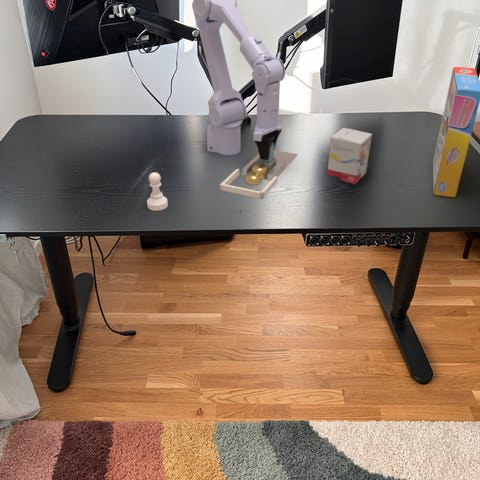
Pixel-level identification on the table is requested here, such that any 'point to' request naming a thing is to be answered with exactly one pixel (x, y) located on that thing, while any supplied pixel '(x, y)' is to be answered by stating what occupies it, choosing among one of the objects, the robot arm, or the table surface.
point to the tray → (242, 191)
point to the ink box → (349, 155)
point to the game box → (455, 130)
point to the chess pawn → (156, 194)
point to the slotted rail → (281, 164)
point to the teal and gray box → (270, 162)
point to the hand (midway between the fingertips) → (266, 156)
